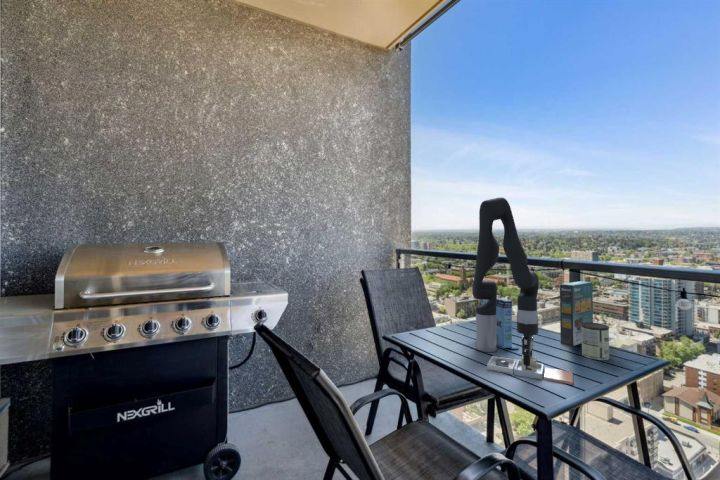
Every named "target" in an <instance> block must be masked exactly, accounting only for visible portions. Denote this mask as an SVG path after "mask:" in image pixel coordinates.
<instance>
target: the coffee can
mask: <svg viewBox="0 0 720 480" xmlns="http://www.w3.org/2000/svg"><path fill="white" fill-rule="evenodd" d="M581 326H582V343H581V355H582V356H583V357H584V358H587V359H592V360H596V361H608V360H609V359H610V330H609V329H610V326H609V325H607V324H604V323H600V322H599V323H598V322H593V323H590V322H586V323H581Z"/></svg>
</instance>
